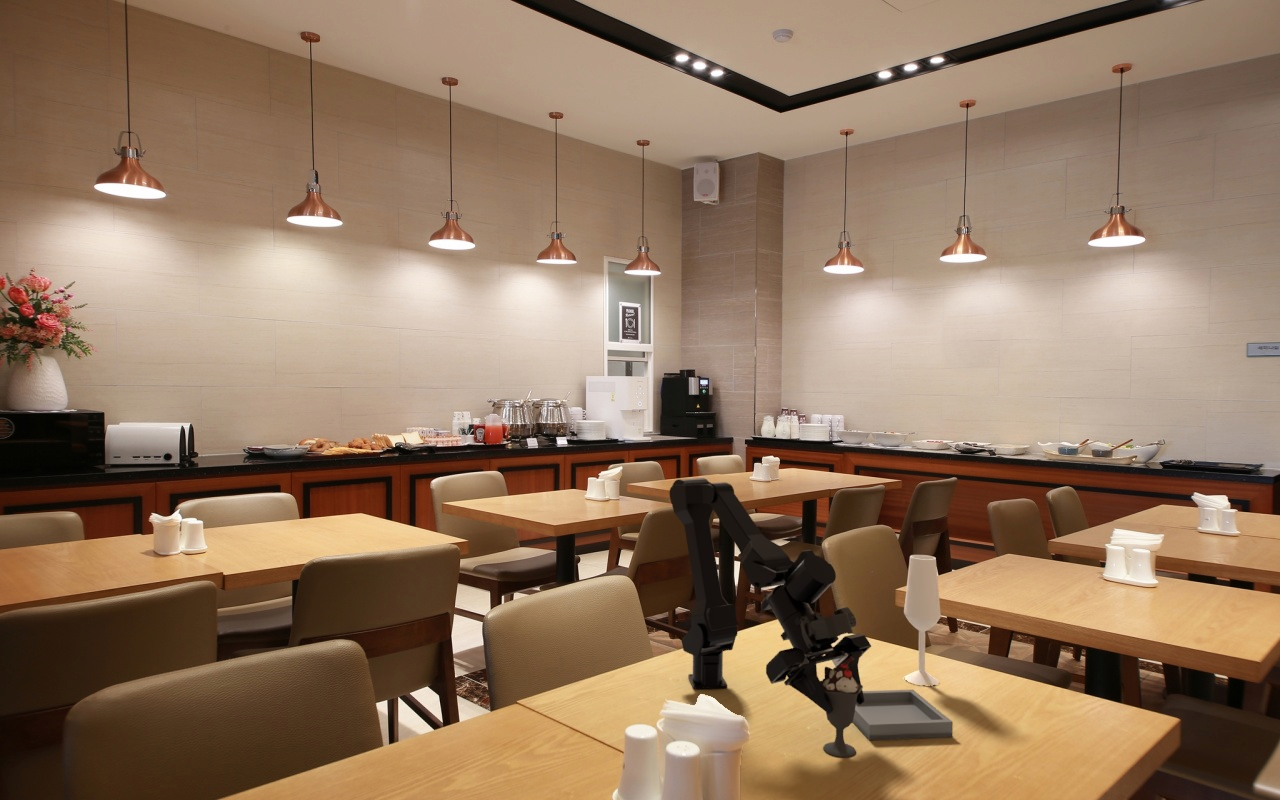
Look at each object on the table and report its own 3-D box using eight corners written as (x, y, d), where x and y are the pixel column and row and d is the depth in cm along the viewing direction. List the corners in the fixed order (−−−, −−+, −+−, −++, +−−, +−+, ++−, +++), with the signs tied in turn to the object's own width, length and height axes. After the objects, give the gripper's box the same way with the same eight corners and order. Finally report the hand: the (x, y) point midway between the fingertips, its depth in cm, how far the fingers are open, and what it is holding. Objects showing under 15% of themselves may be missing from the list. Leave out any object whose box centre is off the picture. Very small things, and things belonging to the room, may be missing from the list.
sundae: (864, 762, 117) (865, 662, 117) (818, 757, 118) (819, 659, 118) (860, 743, 123) (861, 648, 123) (817, 739, 125) (818, 645, 125)
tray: (837, 705, 138) (837, 691, 138) (913, 703, 140) (913, 689, 140) (869, 740, 124) (869, 724, 124) (952, 737, 126) (952, 721, 126)
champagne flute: (902, 683, 149) (903, 559, 149) (904, 672, 156) (905, 552, 156) (939, 688, 147) (940, 562, 147) (940, 677, 153) (941, 555, 153)
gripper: (779, 599, 119) (832, 694, 110) (862, 584, 129) (917, 670, 120) (744, 637, 126) (792, 730, 116) (827, 620, 136) (876, 704, 126)
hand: (847, 707), depth 119 cm, fingers closed on sundae, 6 cm apart
